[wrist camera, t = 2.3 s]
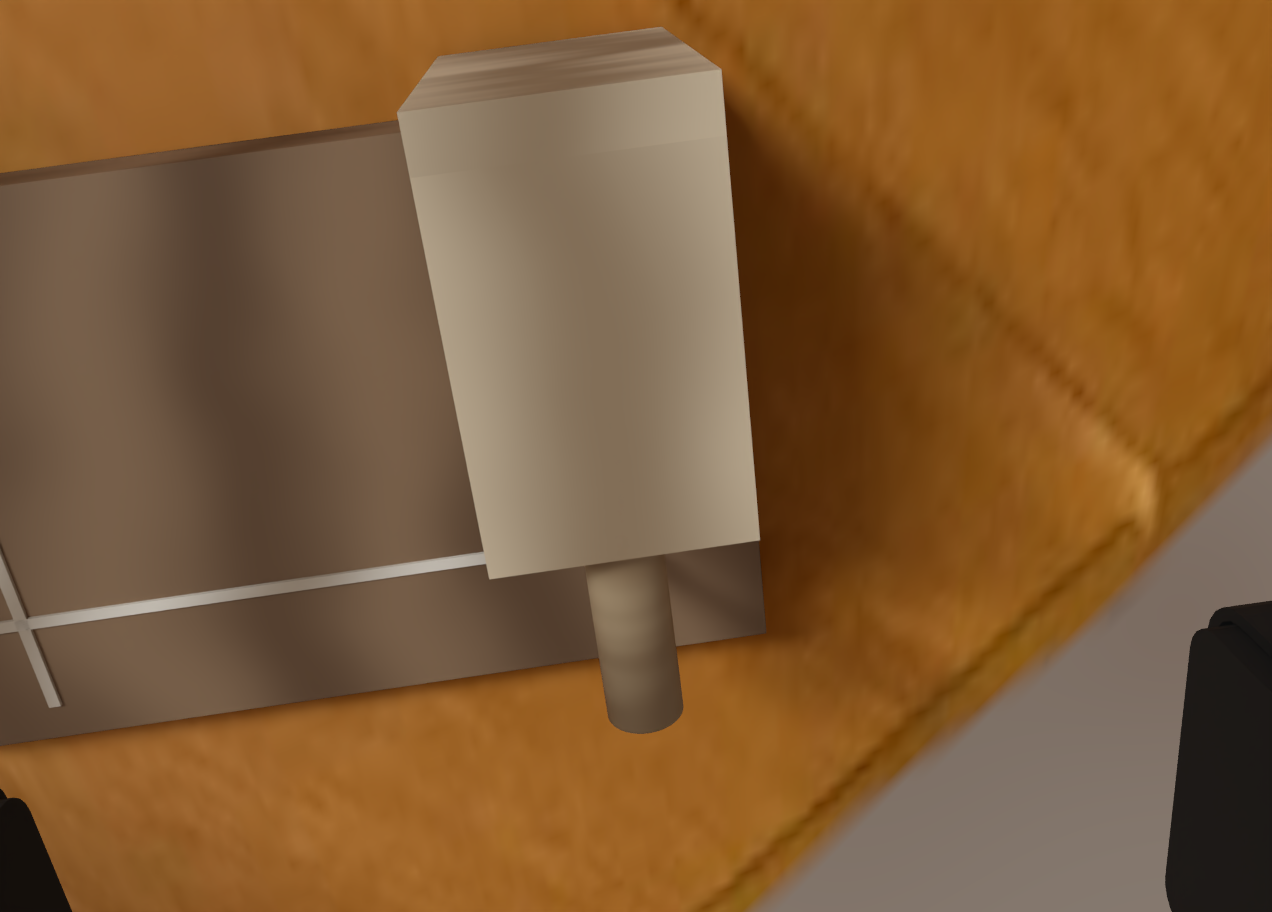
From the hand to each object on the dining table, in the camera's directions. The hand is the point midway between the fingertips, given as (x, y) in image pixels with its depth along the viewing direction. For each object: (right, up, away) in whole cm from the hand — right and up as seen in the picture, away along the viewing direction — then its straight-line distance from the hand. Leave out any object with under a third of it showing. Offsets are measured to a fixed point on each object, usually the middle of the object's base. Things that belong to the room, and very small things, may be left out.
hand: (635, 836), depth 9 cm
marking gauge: (-1, +7, +19) cm, 20 cm away
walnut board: (-9, +4, +20) cm, 22 cm away
